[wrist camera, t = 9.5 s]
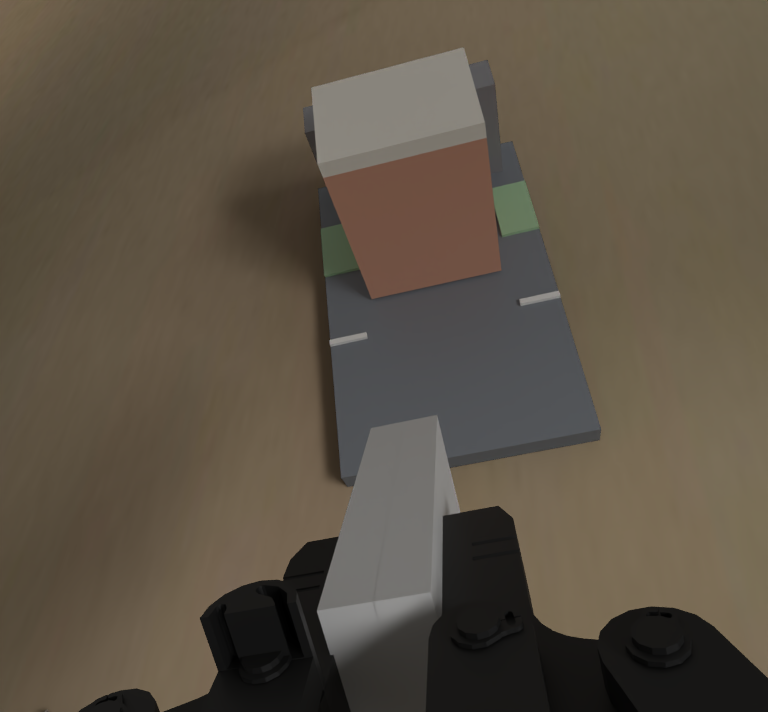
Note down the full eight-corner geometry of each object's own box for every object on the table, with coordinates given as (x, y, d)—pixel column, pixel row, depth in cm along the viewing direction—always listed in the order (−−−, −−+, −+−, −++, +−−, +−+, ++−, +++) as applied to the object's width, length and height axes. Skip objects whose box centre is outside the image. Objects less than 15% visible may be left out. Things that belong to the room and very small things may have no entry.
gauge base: (513, 156, 41) (505, 52, 35) (599, 439, 31) (610, 363, 25) (323, 202, 43) (285, 110, 37) (347, 486, 33) (300, 425, 27)
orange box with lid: (483, 201, 38) (463, 47, 30) (501, 270, 35) (484, 122, 27) (363, 229, 39) (311, 87, 31) (371, 299, 36) (317, 164, 28)
